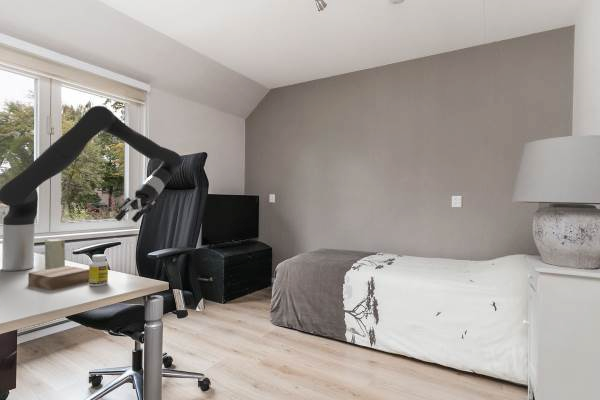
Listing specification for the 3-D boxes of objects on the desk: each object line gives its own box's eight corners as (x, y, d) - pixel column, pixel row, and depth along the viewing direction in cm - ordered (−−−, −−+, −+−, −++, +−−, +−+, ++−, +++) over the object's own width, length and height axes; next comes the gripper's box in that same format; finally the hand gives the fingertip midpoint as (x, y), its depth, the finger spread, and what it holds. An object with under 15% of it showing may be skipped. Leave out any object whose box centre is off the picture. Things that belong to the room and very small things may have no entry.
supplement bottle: (98, 287, 108) (99, 257, 107) (84, 285, 109) (85, 256, 108) (111, 283, 113) (112, 254, 113) (97, 281, 114) (98, 253, 114)
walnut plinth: (28, 284, 107) (28, 272, 107) (66, 276, 119) (66, 265, 118) (51, 290, 103) (51, 277, 103) (89, 281, 114) (89, 269, 114)
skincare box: (65, 272, 124) (65, 240, 124) (51, 274, 121) (52, 241, 120) (57, 269, 128) (58, 238, 128) (44, 272, 124) (44, 239, 124)
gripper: (131, 182, 134) (105, 212, 123) (158, 183, 128) (133, 214, 118) (142, 195, 139) (118, 225, 128) (168, 196, 133) (145, 227, 123)
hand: (125, 220), depth 123 cm, fingers open, 8 cm apart
